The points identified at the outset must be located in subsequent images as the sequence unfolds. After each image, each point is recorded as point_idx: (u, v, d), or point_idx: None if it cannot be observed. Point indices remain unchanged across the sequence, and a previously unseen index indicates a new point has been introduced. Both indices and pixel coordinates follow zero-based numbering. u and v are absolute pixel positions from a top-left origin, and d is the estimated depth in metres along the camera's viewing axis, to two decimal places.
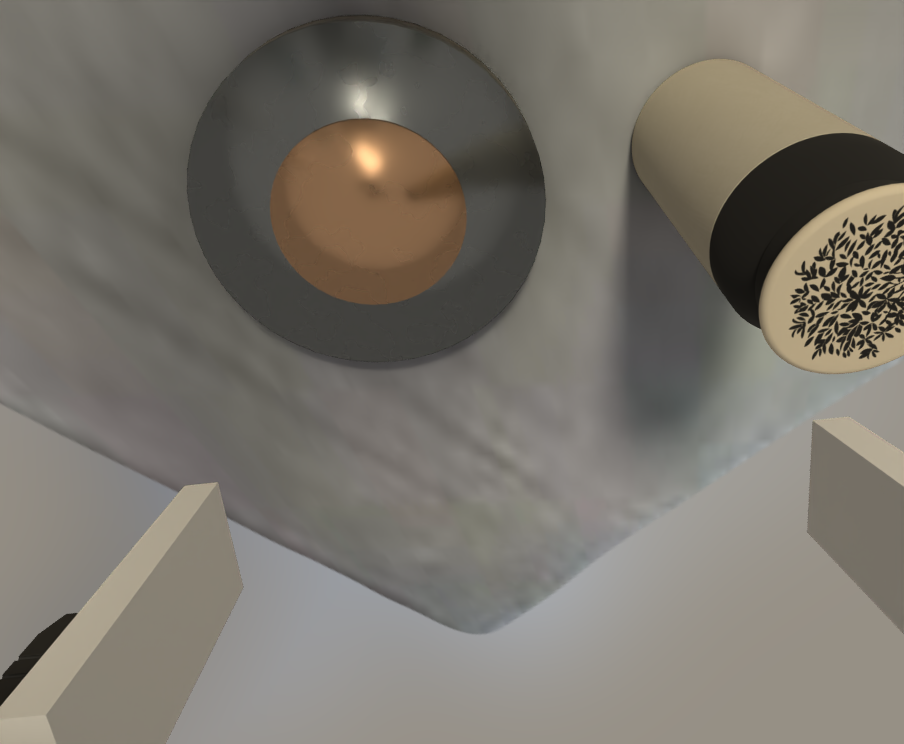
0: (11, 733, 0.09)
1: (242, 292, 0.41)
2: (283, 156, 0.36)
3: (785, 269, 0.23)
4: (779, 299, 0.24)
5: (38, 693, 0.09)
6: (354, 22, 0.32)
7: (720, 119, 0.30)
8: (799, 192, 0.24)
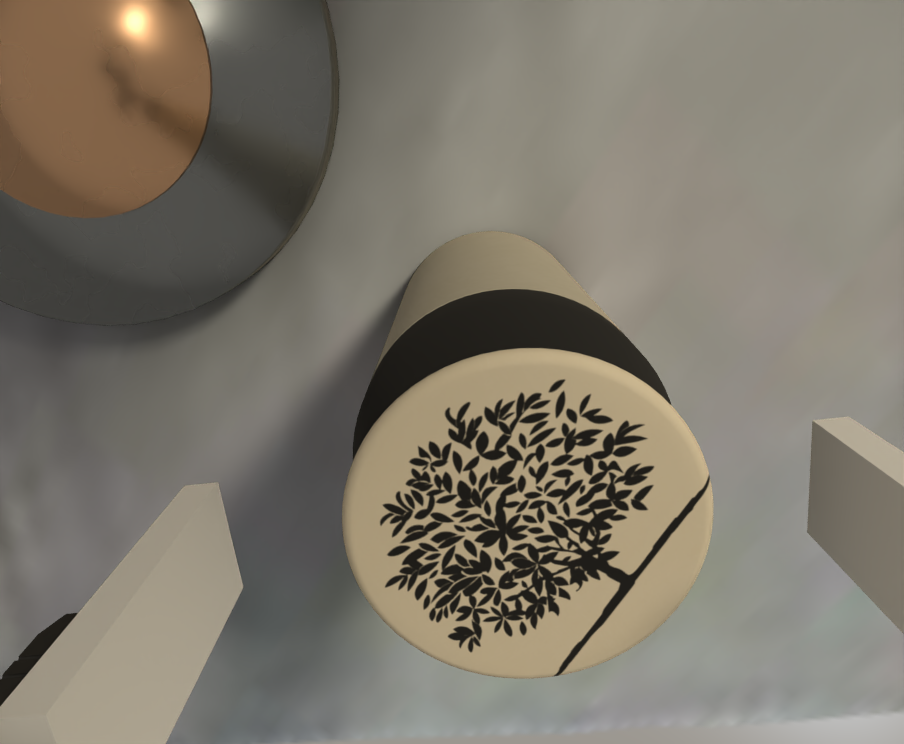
0: (11, 733, 0.09)
1: None
2: None
3: (436, 394, 0.13)
4: (399, 440, 0.13)
5: (38, 693, 0.09)
6: None
7: (511, 258, 0.22)
8: (530, 332, 0.15)
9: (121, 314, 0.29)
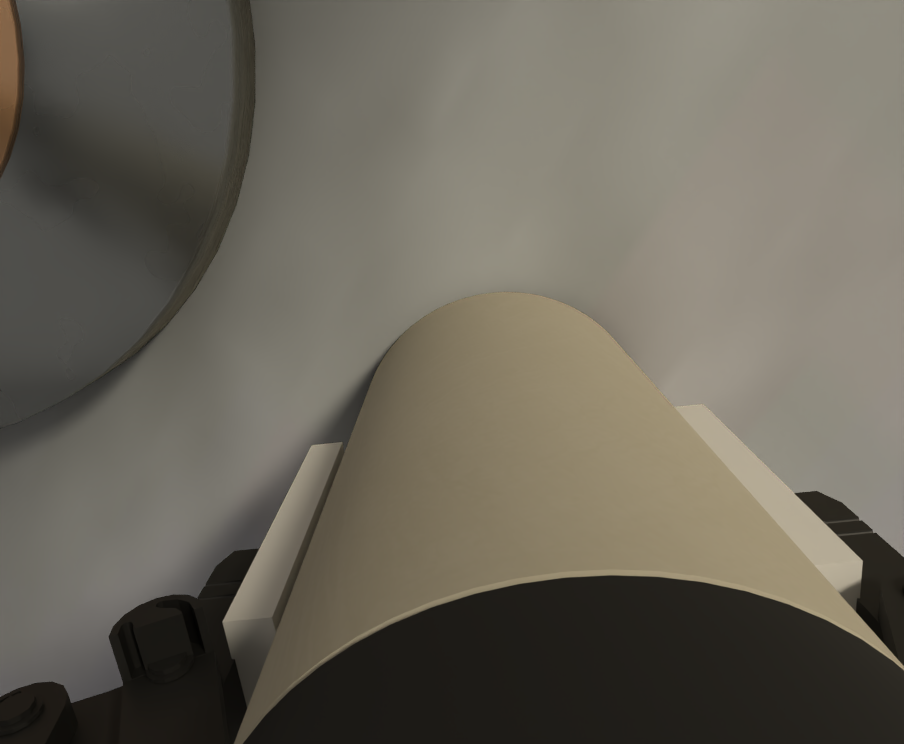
0: (240, 633, 0.10)
1: None
2: None
3: None
4: None
5: (257, 601, 0.10)
6: None
7: (561, 385, 0.11)
8: None
9: None
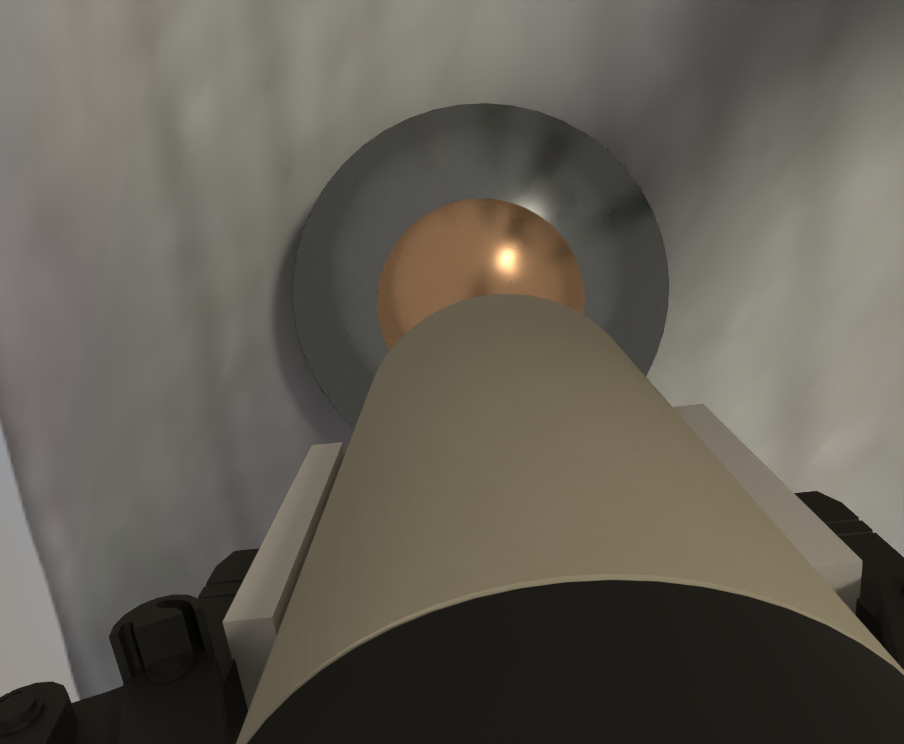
0: (240, 633, 0.10)
1: (309, 263, 0.35)
2: (468, 197, 0.34)
3: None
4: None
5: (257, 602, 0.10)
6: (619, 163, 0.34)
7: (561, 388, 0.11)
8: None
9: None
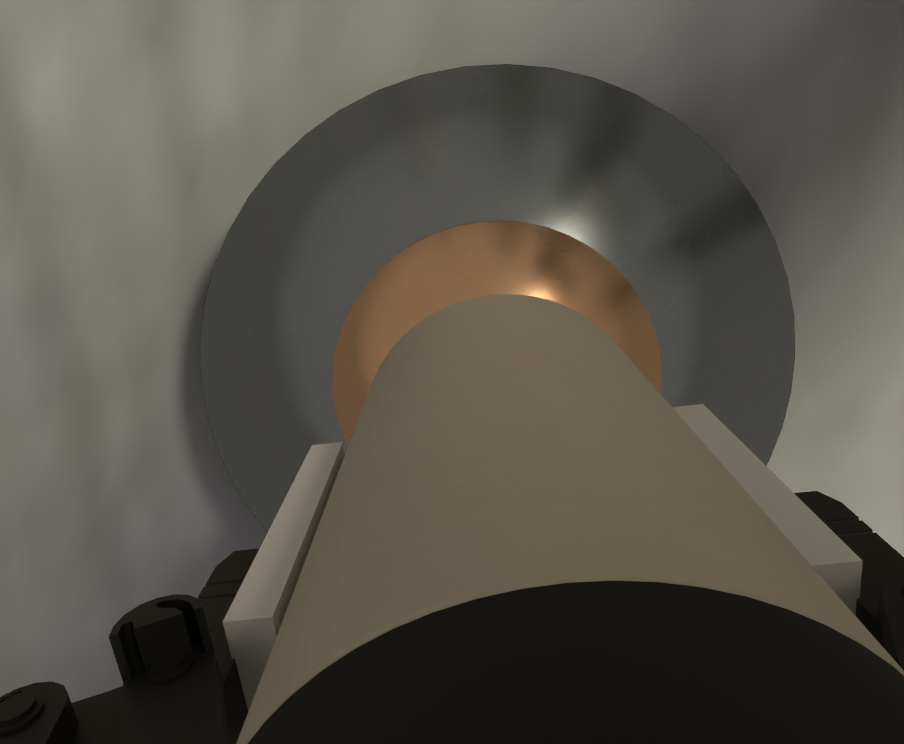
0: (240, 634, 0.10)
1: (224, 323, 0.22)
2: (478, 218, 0.21)
3: None
4: None
5: (257, 602, 0.10)
6: (725, 164, 0.21)
7: (562, 388, 0.11)
8: None
9: None
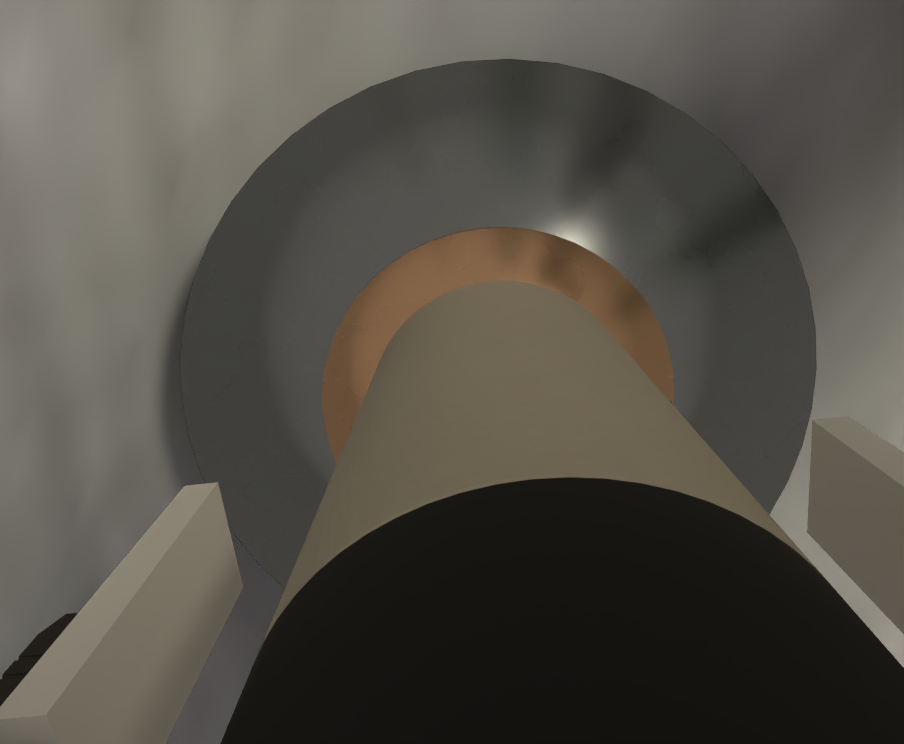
0: (11, 733, 0.09)
1: (206, 336, 0.21)
2: (478, 225, 0.20)
3: None
4: None
5: (38, 693, 0.09)
6: (743, 166, 0.19)
7: (544, 352, 0.12)
8: (645, 677, 0.05)
9: None
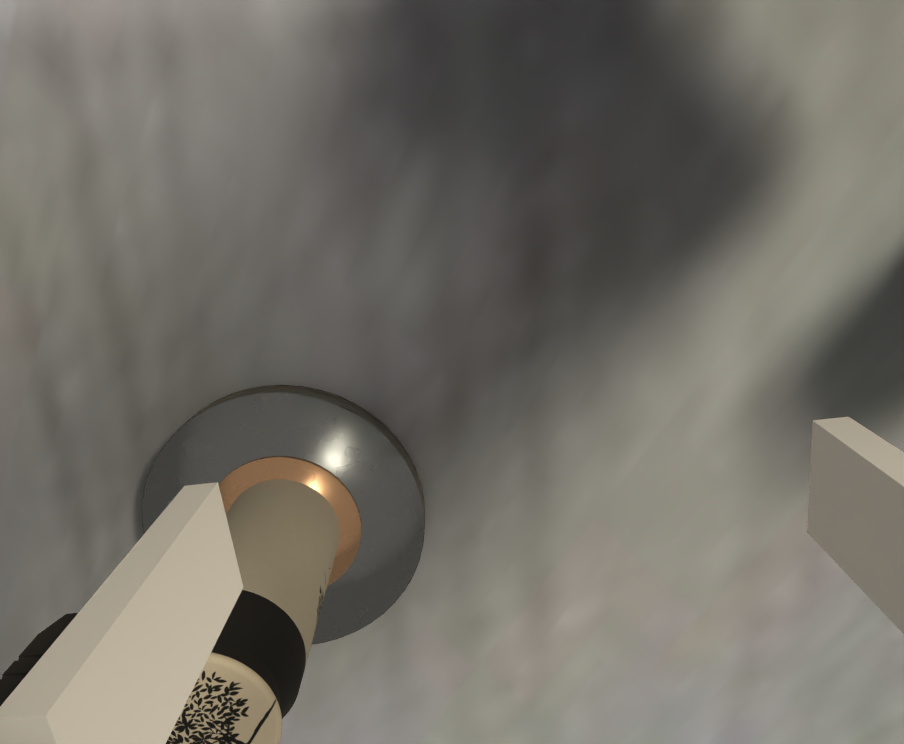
0: (11, 733, 0.09)
1: (153, 499, 0.47)
2: (270, 455, 0.47)
3: None
4: None
5: (38, 693, 0.09)
6: (379, 433, 0.46)
7: (254, 536, 0.39)
8: None
9: None
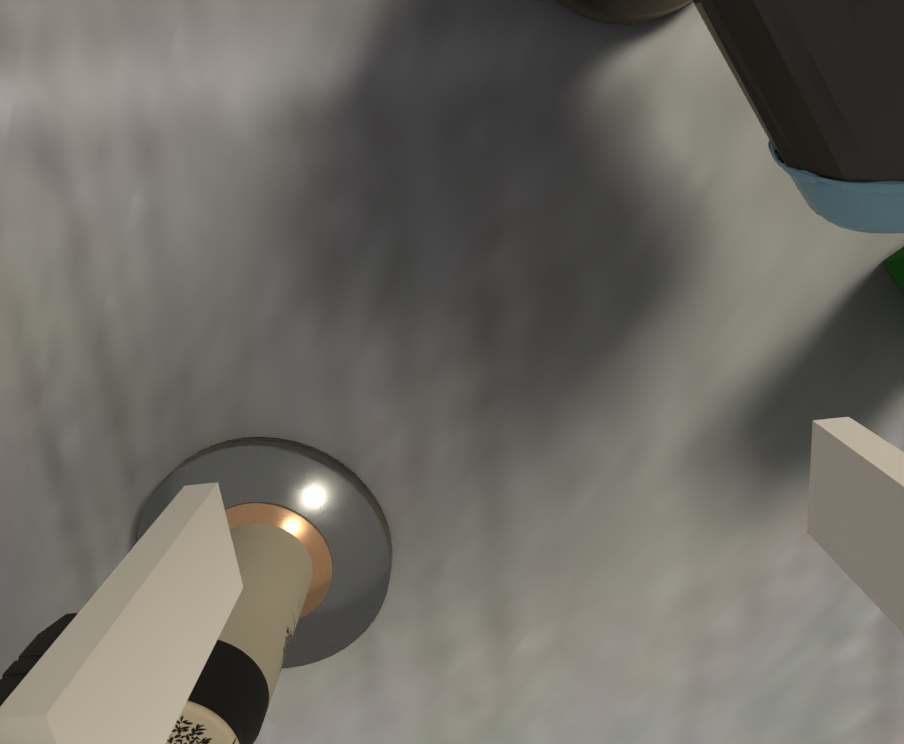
0: (11, 733, 0.09)
1: None
2: (248, 501, 0.51)
3: None
4: None
5: (38, 693, 0.09)
6: (346, 481, 0.51)
7: None
8: None
9: None
